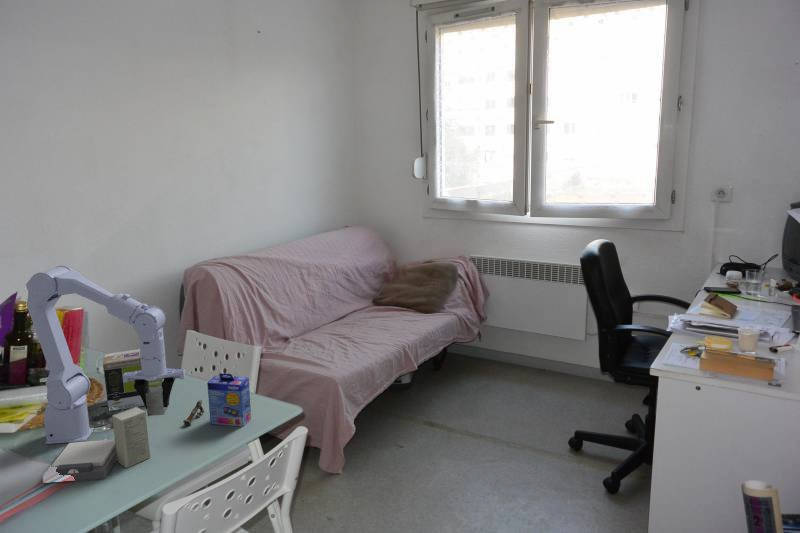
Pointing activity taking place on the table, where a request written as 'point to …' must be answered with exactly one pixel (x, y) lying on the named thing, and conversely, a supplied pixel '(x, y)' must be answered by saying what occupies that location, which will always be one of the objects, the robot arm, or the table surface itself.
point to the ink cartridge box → (229, 400)
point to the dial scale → (86, 459)
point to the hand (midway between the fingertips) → (157, 406)
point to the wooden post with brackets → (194, 411)
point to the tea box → (115, 387)
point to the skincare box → (131, 436)
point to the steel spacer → (155, 401)
